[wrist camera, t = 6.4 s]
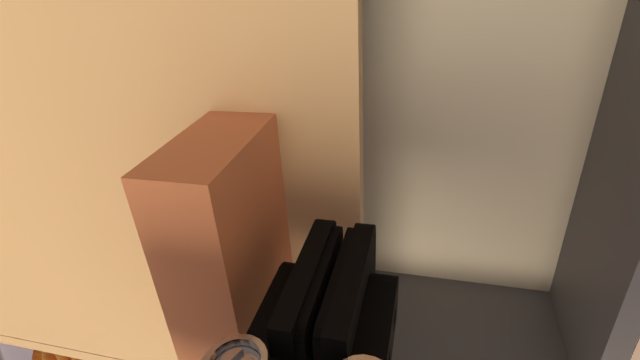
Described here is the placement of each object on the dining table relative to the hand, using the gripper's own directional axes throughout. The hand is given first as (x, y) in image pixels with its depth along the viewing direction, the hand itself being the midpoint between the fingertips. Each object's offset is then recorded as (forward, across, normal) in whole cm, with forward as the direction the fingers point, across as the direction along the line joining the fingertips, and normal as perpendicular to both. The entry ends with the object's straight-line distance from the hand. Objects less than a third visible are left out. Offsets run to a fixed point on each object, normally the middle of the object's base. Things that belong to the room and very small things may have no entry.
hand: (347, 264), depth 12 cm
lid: (+3, +10, 0) cm, 11 cm away
